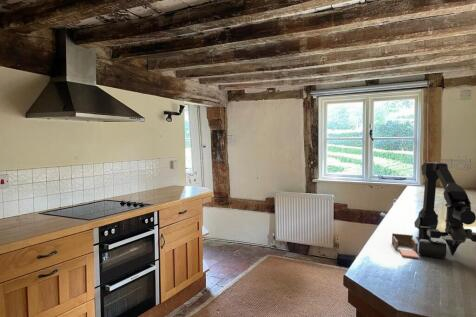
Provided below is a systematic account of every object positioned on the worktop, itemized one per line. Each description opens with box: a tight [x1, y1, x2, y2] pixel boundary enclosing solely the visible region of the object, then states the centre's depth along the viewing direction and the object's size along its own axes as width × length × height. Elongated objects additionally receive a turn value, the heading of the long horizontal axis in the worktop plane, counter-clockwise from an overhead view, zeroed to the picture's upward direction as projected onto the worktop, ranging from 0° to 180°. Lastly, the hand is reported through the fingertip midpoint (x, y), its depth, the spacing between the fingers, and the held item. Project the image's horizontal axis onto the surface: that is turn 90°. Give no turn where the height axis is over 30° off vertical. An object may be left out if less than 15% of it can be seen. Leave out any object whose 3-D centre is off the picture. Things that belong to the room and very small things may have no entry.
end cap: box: [418, 239, 447, 260], centre depth 142 cm, size 10×7×7 cm
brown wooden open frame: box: [391, 232, 419, 254], centre depth 153 cm, size 11×9×5 cm
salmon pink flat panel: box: [398, 248, 420, 259], centre depth 144 cm, size 1×7×9 cm
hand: (452, 255), depth 140 cm, fingers closed
